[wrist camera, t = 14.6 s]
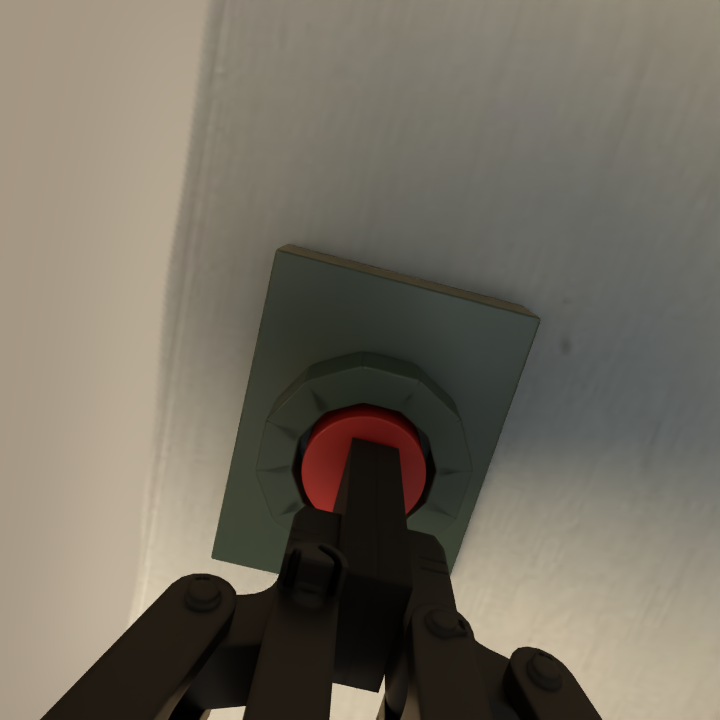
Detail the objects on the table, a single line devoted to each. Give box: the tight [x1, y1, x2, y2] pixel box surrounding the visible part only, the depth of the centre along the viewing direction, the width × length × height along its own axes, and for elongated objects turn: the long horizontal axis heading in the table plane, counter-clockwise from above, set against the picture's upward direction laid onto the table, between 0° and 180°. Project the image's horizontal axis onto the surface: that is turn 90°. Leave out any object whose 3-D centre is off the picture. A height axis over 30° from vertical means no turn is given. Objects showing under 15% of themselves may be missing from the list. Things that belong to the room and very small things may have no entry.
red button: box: [301, 403, 426, 514], centre depth 19 cm, size 4×4×2 cm
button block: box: [211, 245, 541, 576], centre depth 20 cm, size 12×9×4 cm
